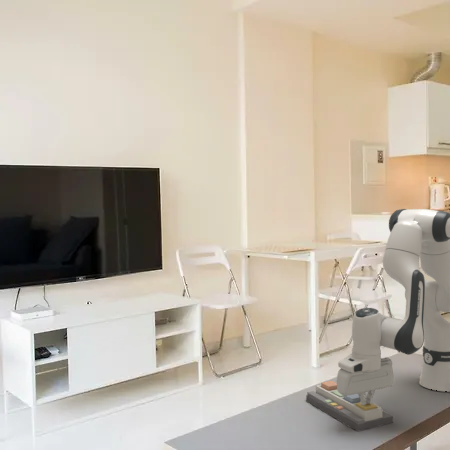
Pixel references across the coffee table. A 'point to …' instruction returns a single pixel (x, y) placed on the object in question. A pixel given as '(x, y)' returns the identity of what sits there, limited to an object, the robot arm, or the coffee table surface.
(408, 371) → the coffee table surface
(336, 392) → the key sage
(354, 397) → the key slate
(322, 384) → the key terracotta
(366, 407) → the key ochre
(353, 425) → the coloured button panel
